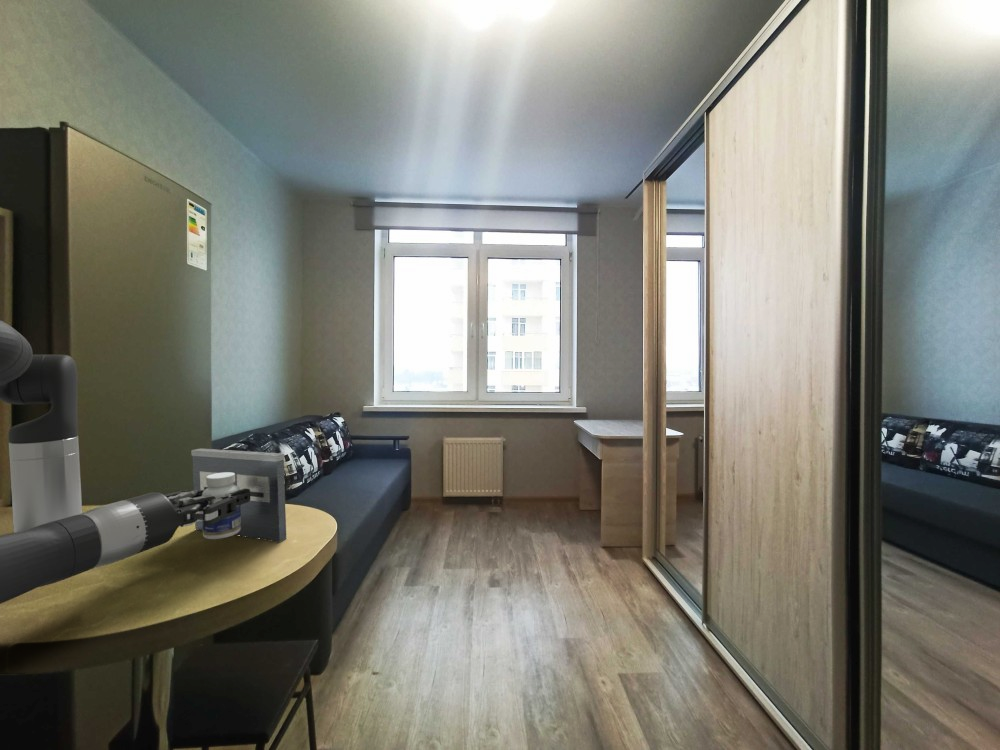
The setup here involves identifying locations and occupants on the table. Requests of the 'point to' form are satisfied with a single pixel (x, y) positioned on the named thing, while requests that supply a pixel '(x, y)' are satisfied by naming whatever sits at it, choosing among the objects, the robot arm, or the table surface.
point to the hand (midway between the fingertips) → (234, 492)
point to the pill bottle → (218, 487)
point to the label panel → (253, 473)
